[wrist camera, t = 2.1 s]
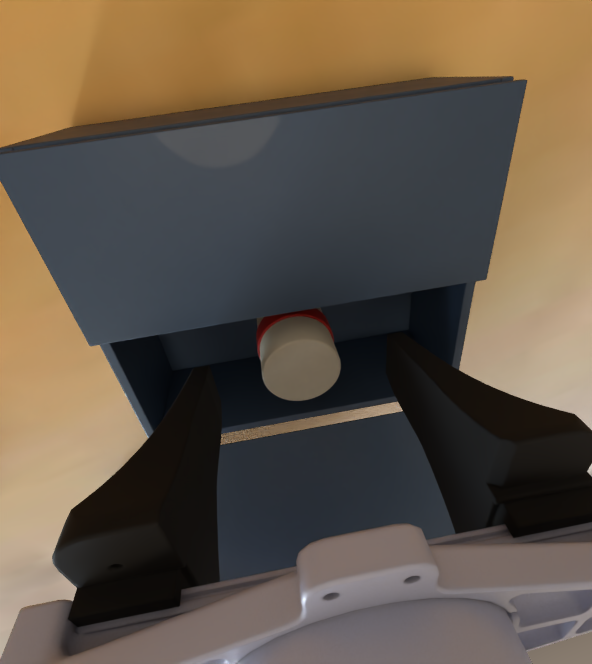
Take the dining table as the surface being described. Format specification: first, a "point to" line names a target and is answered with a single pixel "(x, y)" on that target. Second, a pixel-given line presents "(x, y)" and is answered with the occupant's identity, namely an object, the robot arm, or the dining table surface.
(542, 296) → the dining table surface
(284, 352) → the red-banded cylinder
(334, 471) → the flap
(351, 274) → the carton
